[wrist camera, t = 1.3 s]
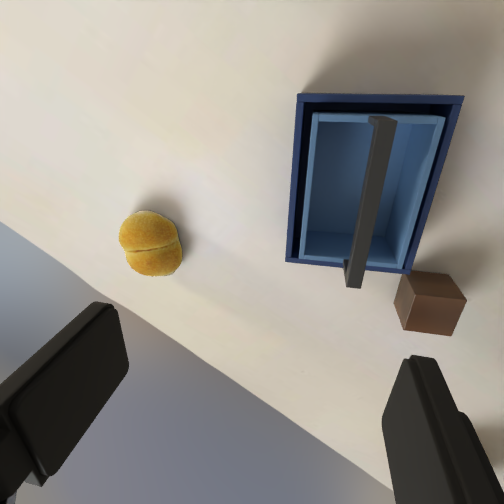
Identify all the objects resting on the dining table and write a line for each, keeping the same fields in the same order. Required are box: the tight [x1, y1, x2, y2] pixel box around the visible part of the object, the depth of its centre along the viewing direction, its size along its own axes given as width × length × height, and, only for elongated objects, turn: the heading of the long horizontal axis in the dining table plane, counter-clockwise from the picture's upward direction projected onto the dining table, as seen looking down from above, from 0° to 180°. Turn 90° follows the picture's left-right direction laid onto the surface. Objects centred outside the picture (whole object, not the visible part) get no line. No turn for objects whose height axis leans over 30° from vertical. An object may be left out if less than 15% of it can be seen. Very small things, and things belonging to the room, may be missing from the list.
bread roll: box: [119, 211, 182, 276], centre depth 39 cm, size 8×9×4 cm
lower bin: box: [285, 93, 465, 275], centre depth 29 cm, size 16×12×6 cm
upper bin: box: [299, 110, 446, 289], centre depth 27 cm, size 13×10×11 cm
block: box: [394, 271, 467, 336], centre depth 34 cm, size 5×5×5 cm
